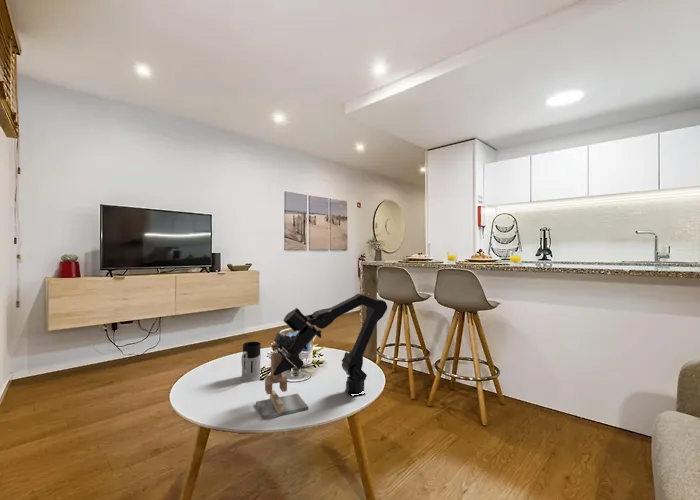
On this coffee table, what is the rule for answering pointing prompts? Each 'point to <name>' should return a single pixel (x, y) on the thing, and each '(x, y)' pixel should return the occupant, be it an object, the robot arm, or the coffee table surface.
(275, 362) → the wooden block
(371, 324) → the robot arm
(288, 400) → the cross plate base
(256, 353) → the glass holder
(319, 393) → the coffee table surface
